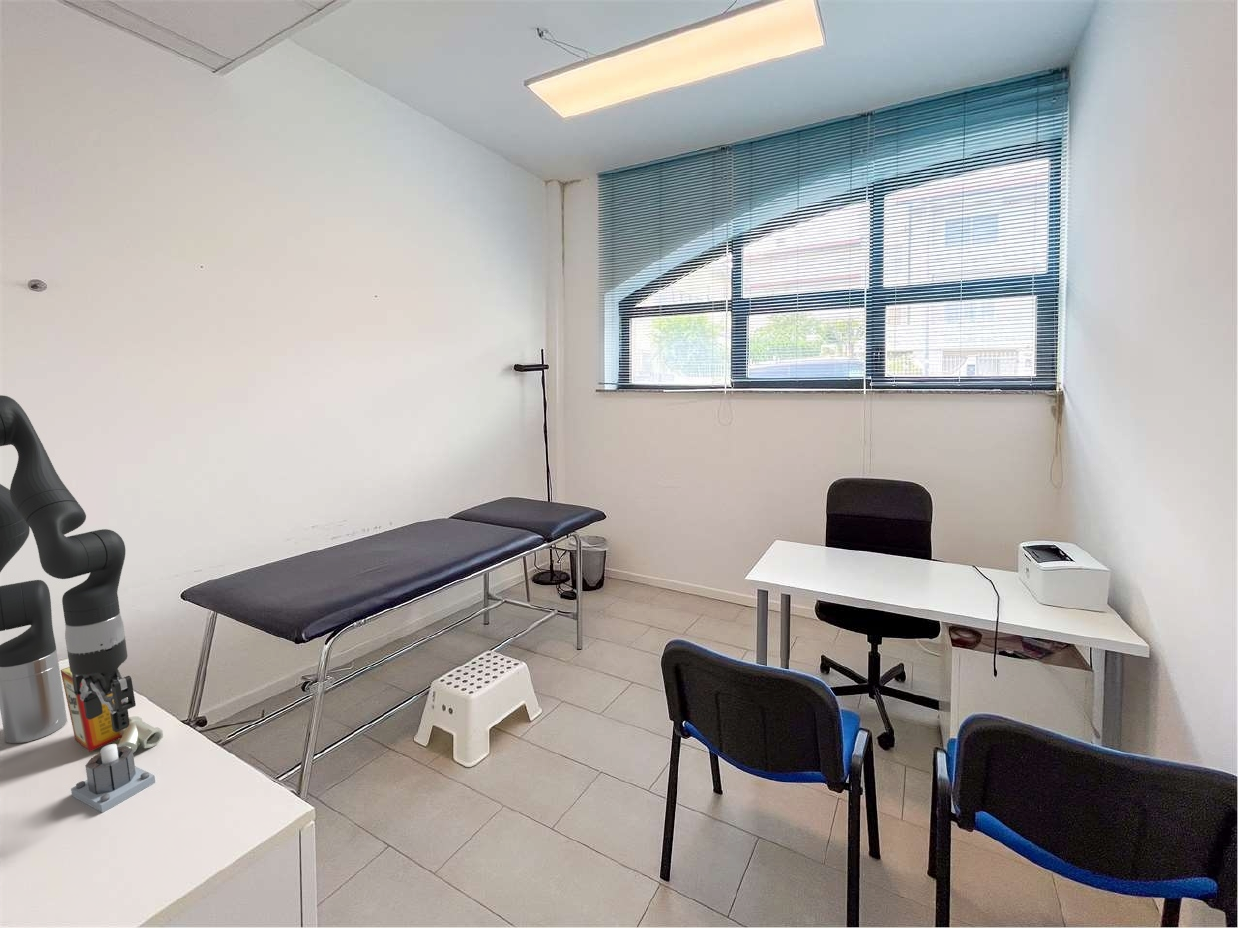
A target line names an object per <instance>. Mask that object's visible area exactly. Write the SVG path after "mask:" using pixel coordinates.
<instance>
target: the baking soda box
mask: <svg viewBox="0 0 1238 928" xmlns="http://www.w3.org/2000/svg"><path fill="white" fill-rule="evenodd" d="M60 676H61V681H62V683H63V684H62V685H63V688H64V694H65V697H66V702H67V706H68V712H69V716H70V722H71V725H72V731H73V735H74V740H75V741H77V742H78V743H79V744H80V745H81V746H82V747H84V749H86V751H88V752H92V751H94V750H97V749H99V748H102V747H105V746H107V745H109V744H111V743H113V742H115V741H117V740H119V739H120V740H121V738H122V735H120V733H119V732H115V731H113V729H112V722H111V715H110V710H109V709H108V707H107V705H106V704H102V710H103V713H102V714H101V715H99V716H97V717H95V718H93V719H90V720H89V719H87V718H86V716H85V709H84V702H83V701H81V699H80V695H77V696H76V695H75V694H74V686H73V677H72V673H71V671H70V666H68V667H66V668H63V669H60ZM81 685H82V683H80V687H81ZM112 695H113V693H112V694H109V695H107V697H109V696H112ZM97 696H98V695H97ZM113 703H114V700H113ZM121 703H122V702H121Z"/></svg>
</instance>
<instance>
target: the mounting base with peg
mask: <svg viewBox="0 0 1238 928" xmlns="http://www.w3.org/2000/svg"><path fill="white" fill-rule="evenodd" d="M117 746H118V744H116V743H112V744H111V743H109V744H106V745H104V746H102V747H101V749H100V750H99V752H100V753H101V758H102V764H106V763H110V762H112V761H114V760H116V759H118V751H117ZM135 771H136V774H135V775H134V777H133V779H132V780H131V781H130V782H129V783H127V784H126V785H124V786H122V787H120V788H118V789H117V790H113V791H112V792H107V793H102V794H98V795H97V794H94V793H92V792H90V791H89V787H88V780H87V779H86V780H81V781H79V782H77V783H76V784H75V785H74V786H73V787H71V788H70V791H71V796H72V797H73V798H75V799H77V800H79V801H81V802H82V803H83V804H86V805H88V806H90V808H91V807H92V808H93V809H95V810H97V812H100V813H102V814H104V813H105V812H107V811H108V810H111V808H114V807H115V806H116V805H118V804H121V803H122V802H123V801H125V800H127V799H129V798H131V797H133V796H134V795H137V793H140V792H142V791H143V790H145V789H146V788H149V786H151V785H153V784H155V783H156V777H155V774H153V773H150V772H148V771H146V770H145V769H142V768H140V767H138V766H136V765H135Z"/></svg>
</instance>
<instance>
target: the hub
mask: <svg viewBox="0 0 1238 928" xmlns="http://www.w3.org/2000/svg"><path fill="white" fill-rule="evenodd" d="M117 751H118V759H116V760H114V761H112V762H110V763H106V764H102V758H101V752H99V753H97V754H96V755H94V756H93V757H91V758H90V759H89V761H88V762H87V763H86V765H85V772H86V778H87V779H86V780H88V787H89V791H90V792H92V793H94V794H97V795H98V794H102V793H107V792H112V791H113V790H117V789H118V788H120V787H122V786H124V785H126V784H127V783H129V782H130V781H131V780H132V779H133V777H134V775H135V774H136V771H135V766H136V765H135V758H134V753H133V749H131V748H129V747H127V746H122V747H117Z"/></svg>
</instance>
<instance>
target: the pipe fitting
mask: <svg viewBox="0 0 1238 928" xmlns="http://www.w3.org/2000/svg"><path fill="white" fill-rule="evenodd" d="M129 723H130V724H129V726H128V727H127V728H125V729H123V730H121V731H119V733H120V735H122V738H120V740H119V742H118V744H117V747H122V746H127V747H129V748H131V749H133V754H134V753H136V751H137V749H138V747H142V748H144V749H149V748H153V747H155V746H156V745H158V744H159V743H160V742H161V740H162V739H163V737H164V733H163V729H161V728H160V727H154V726H152V725H151V724H149V723H146V722H145V721H143V718H141V717H140V716H129Z"/></svg>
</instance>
